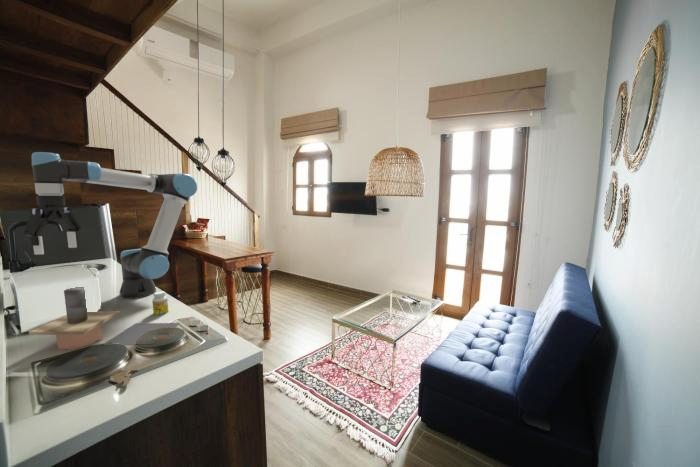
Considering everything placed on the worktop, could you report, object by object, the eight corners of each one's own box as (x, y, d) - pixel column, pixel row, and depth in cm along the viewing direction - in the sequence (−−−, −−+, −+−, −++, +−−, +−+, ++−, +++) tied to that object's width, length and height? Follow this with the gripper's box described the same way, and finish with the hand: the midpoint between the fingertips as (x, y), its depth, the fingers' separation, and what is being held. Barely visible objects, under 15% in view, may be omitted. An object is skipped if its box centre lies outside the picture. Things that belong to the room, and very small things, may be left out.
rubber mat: (135, 325, 115) (135, 323, 115) (180, 324, 116) (180, 323, 116) (101, 347, 98) (100, 345, 98) (153, 347, 99) (153, 344, 99)
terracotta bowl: (78, 335, 107) (75, 316, 106) (109, 335, 107) (107, 316, 106) (48, 351, 96) (45, 331, 95) (83, 351, 96) (81, 330, 95)
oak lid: (74, 314, 108) (70, 282, 106) (119, 313, 109) (116, 282, 107) (29, 334, 92) (24, 297, 90) (82, 334, 93) (78, 297, 91)
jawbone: (96, 390, 79) (95, 383, 78) (158, 351, 99) (158, 345, 98) (125, 392, 77) (124, 384, 77) (182, 352, 97) (181, 346, 97)
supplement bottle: (171, 312, 128) (169, 290, 127) (162, 317, 123) (161, 295, 122) (159, 311, 128) (157, 290, 127) (150, 316, 123) (148, 294, 122)
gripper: (69, 194, 123) (75, 245, 126) (2, 194, 98) (11, 257, 101) (88, 195, 123) (93, 245, 126) (25, 195, 99) (34, 257, 101)
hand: (57, 250), depth 114 cm, fingers open, 13 cm apart
